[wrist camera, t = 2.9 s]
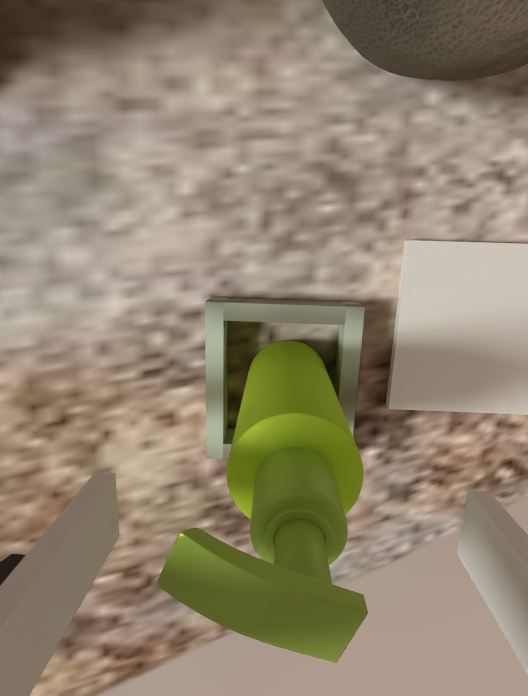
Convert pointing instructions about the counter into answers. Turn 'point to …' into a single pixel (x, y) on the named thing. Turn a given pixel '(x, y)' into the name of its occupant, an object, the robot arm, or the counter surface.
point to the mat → (461, 328)
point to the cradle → (281, 312)
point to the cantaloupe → (436, 35)
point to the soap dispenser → (281, 514)
